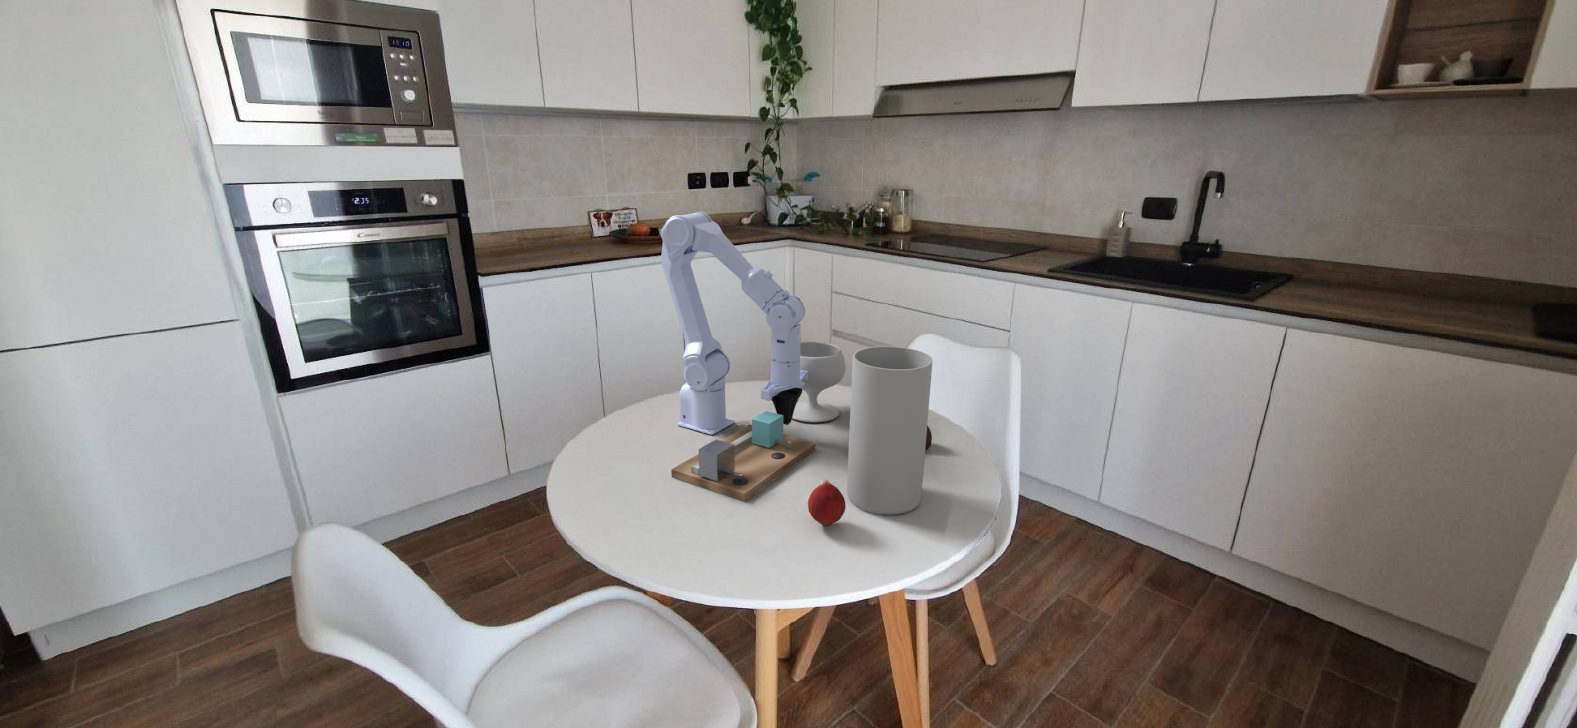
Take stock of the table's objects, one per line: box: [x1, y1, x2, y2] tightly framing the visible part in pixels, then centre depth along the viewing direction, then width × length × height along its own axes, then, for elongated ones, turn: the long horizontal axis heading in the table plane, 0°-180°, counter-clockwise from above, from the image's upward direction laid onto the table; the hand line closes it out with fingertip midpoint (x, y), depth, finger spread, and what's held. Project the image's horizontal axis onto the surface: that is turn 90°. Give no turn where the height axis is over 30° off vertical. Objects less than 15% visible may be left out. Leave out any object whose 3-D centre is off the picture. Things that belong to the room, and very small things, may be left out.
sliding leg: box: [751, 410, 793, 448], centre depth 129 cm, size 8×5×5 cm, turn 58°
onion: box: [807, 478, 846, 527], centre depth 103 cm, size 6×6×8 cm
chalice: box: [792, 341, 846, 423], centre depth 146 cm, size 14×14×15 cm
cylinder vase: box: [846, 345, 933, 516], centre depth 109 cm, size 12×12×25 cm
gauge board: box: [670, 424, 817, 502], centre depth 125 cm, size 16×24×3 cm, turn 148°
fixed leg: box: [698, 438, 744, 481], centre depth 116 cm, size 8×5×5 cm, turn 58°
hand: (784, 422), depth 135 cm, fingers closed
